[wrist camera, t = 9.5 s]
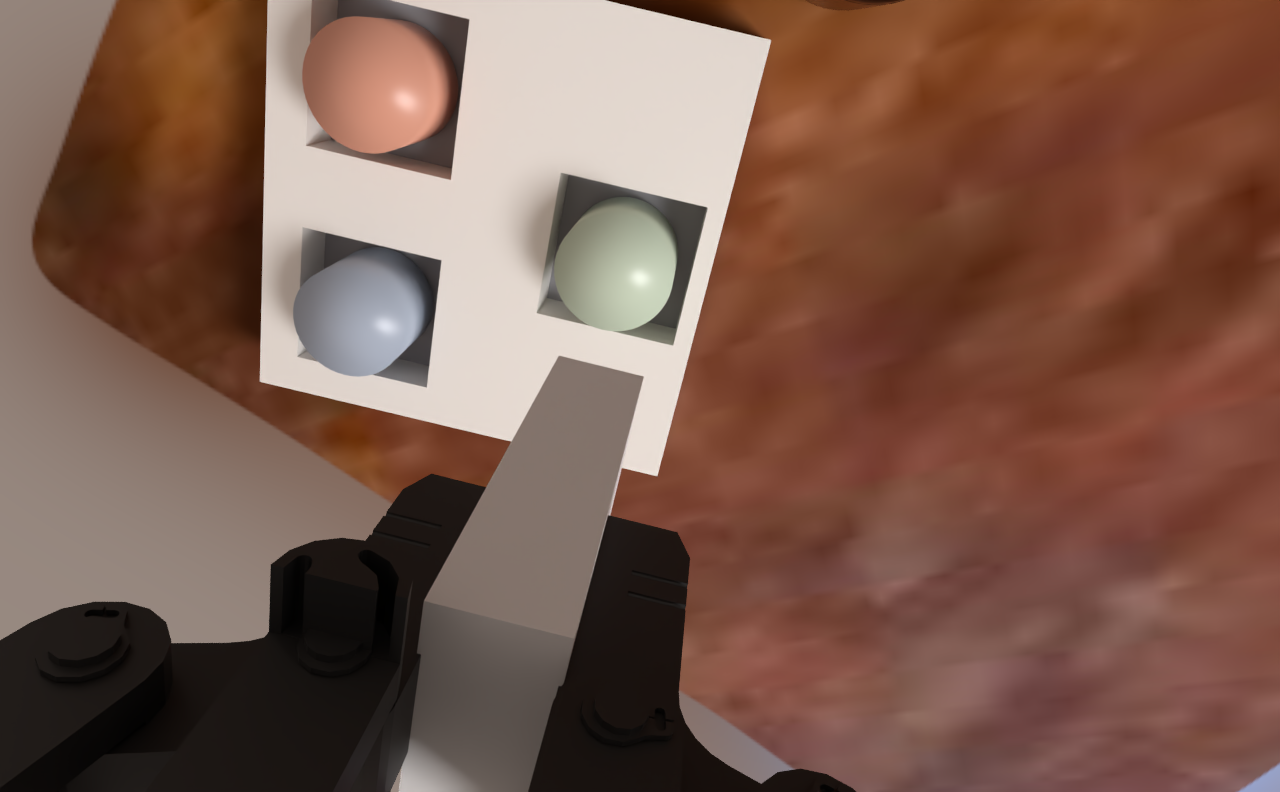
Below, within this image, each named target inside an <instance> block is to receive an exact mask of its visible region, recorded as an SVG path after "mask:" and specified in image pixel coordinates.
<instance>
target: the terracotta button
mask: <svg viewBox="0 0 1280 792" xmlns="http://www.w3.org/2000/svg"><path fill="white" fill-rule="evenodd" d="M302 82H303V89H304V93H305V97H306V100H307V103H308V106H309V108H310V110H311V112H312V114H313V116H314V117H315V119H316V120H317V122H318V123H319V125H320V126H321V127H322V128H323V129H324V131H325V132H326V133H328V134H329V135H330V136H331V137H332V138H333V139H334V140H336V141H337V142H339V143H340V144H342V145H344V146H345V147H348V148H350V149H352V150H355V151H358V152H363V153H372V154H377V153H385V152H389V151H392V150H395V149H398V148H402V147H405V146H408V145H411V144H414V143H417V142H420V141H424V140H426V139H429V138H431V137H433V136H434V135H436V134H437V133H438V132H440V131H441V130H442V129H443V128H444V127H445V126H446V124H447V123H448V122H449V120H450V119H451V117H452V115H453V112H454V110H455V107H456V103H457V98H458V80H457V74H456V70H455V67H454V64H453V62H452V59H451V57H450V55H449V53H448V52H447V50H446V48H445V47H444V46H443V44H442V43H441V42H440V41H439V40H438V39H437V38H436V37H435V36H434V35H433V34H432V33H431V32H429V31H428V30H426V29H425V28H423V27H422V26H419V25H417V24H415V23H412V22H409V21H404V20H397V19H385V18H373V17H359V16H352V17H344V18H341V19H338V20H335V21H333V22H331V23H329V24H328V25H326V26H325V27H323V28H322V29H321V30H320V31H319V32H318V33H317V34H316V35H315V37H314V38H313V39H312V41H311V43H310V45H309V46H308V49H307V51H306V54H305V57H304V62H303V69H302Z"/></svg>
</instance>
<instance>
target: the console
mask: <svg viewBox="0 0 1280 792" xmlns="http://www.w3.org/2000/svg"><path fill="white" fill-rule="evenodd" d="M352 16H359V17H373V18H385V19H397V20H404V21H409V22H412V23H415V24H417V25H419V26H422V27H423V28H425V29H426V30H428V31H429V32H431V33H432V34H433V35H434V36H435V37H436V38H437V39H438V40H439V41H440V42H441V43H442V44H443V46H444V47H445V48H446V50H447V52H448V53H449V55H450V57H451V59H452V62H453V64H454V67H455V70H456V74H457V80H458V98H457V103H456V107H455V110H454V112H453V115H452V117H451V119H450V120H449V122H448V123H447V124H446V126H445V127H444V128H443V129H442V130H441V131H440V132H438V133H437V134H436V135H434V136H433V137H431V138H429V139H426V140H424V141H420V142H417V143H414V144H411V145H408V146H405V147H402V148H398V149H395V150H392V151H389V152H385V153H377V154H372V153H363V152H358V151H355V150H352V149H350V148H348V147H345V146H344V145H342V144H340V143H339V142H337V141H336V140H334V139H333V138H332V137H331V136H330V135H329V134H328V133H326V132H325V131H324V129H323V128H322V127H321V126H320V125H319V123H318V122H317V120H316V119H315V117H314V116H313V114H312V112H311V110H310V108H309V106H308V103H307V100H306V97H305V93H304V89H303V82H302V69H303V62H304V57H305V54H306V51H307V49H308V46H309V45H310V43H311V41H312V39H313V38H314V37H315V35H316V34H317V33H318V32H319V31H320V30H321V29H322V28H323V27H325V26H326V25H328V24H329V23H331V22H333V21H335V20H338V19H341V18H344V17H352ZM770 43H771V40H769V39H765V38H760V37H756V36H752V35H748V34H744V33H740V32H735V31H731V30H727V29H723V28H719V27H715V26H710V25H706V24H702V23H698V22H694V21H690V20H685V19H681V18H677V17H673V16H669V15H665V14H660V13H656V12H652V11H648V10H644V9H639V8H635V7H631V6H627V5H623V4H619V3H614V2H610V1H606V0H268V13H267V61H266V110H265V158H264V207H263V256H262V304H261V353H260V382H263V383H268V384H272V385H276V386H280V387H285V388H289V389H293V390H297V391H301V392H306V393H310V394H314V395H318V396H322V397H327V398H331V399H335V400H339V401H343V402H348V403H352V404H356V405H360V406H364V407H369V408H373V409H377V410H381V411H385V412H390V413H394V414H398V415H402V416H406V417H411V418H415V419H419V420H423V421H427V422H432V423H436V424H440V425H444V426H448V427H453V428H457V429H461V430H465V431H469V432H474V433H478V434H482V435H486V436H490V437H495V438H499V439H503V440H507V441H511V442H512V440H513V438H514V436H515V434H516V433H517V431H518V429H519V427H520V425H521V423H522V422H523V420H524V418H525V416H526V414H527V413H528V411H529V409H530V407H531V405H532V403H533V402H534V400H535V398H536V396H537V394H538V393H539V391H540V389H541V387H542V385H543V383H544V382H545V380H546V378H547V376H548V374H549V373H550V371H551V369H552V367H553V365H554V363H555V362H556V360H557V358H558V356H563V357H567V358H571V359H575V360H579V361H583V362H587V363H591V364H595V365H599V366H603V367H608V368H612V369H616V370H620V371H624V372H628V373H632V374H636V375H640V376H644V378H643V383H642V387H641V391H640V395H639V399H638V403H637V407H636V411H635V415H634V419H633V423H632V428H631V432H630V436H629V440H628V444H627V448H626V452H625V456H624V460H623V464H622V468H625V469H629V470H633V471H638V472H642V473H646V474H650V475H654V476H657V475H658V471H659V468H660V464H661V460H662V456H663V452H664V448H665V445H666V441H667V437H668V433H669V429H670V426H671V422H672V418H673V414H674V410H675V406H676V403H677V399H678V395H679V391H680V387H681V383H682V380H683V376H684V372H685V368H686V364H687V361H688V357H689V353H690V349H691V345H692V341H693V338H694V334H695V330H696V326H697V322H698V318H699V315H700V311H701V307H702V303H703V299H704V296H705V292H706V288H707V284H708V280H709V276H710V273H711V269H712V265H713V261H714V257H715V253H716V250H717V246H718V242H719V238H720V234H721V231H722V227H723V223H724V219H725V215H726V211H727V208H728V204H729V200H730V196H731V192H732V188H733V185H734V181H735V177H736V173H737V169H738V166H739V162H740V158H741V154H742V150H743V146H744V143H745V139H746V135H747V131H748V127H749V124H750V120H751V116H752V112H753V108H754V104H755V101H756V97H757V93H758V89H759V85H760V81H761V78H762V74H763V70H764V66H765V62H766V59H767V55H768V51H769V47H770ZM614 197H631V198H636V199H639V200H643V201H645V202H647V203H649V204H651V205H652V206H654V207H655V208H657V209H658V210H659V211H660V212H661V213H662V214H663V215H664V216H665V217H666V218H667V220H668V221H669V223H670V224H671V226H672V228H673V230H674V233H675V235H676V239H677V243H678V260H677V265H676V270H675V275H674V280H673V285H672V289H671V293H670V296H669V298H668V300H667V302H666V304H665V305H664V307H663V308H662V310H661V311H660V312H659V313H658V314H657V315H656V316H655V317H654V318H653V319H651V320H650V321H648V322H647V323H645V324H643V325H641V326H639V327H637V328H634V329H630V330H626V331H607V330H601V329H598V328H595V327H592V326H590V325H588V324H586V323H584V322H583V321H581V320H580V319H579V318H577V317H576V316H575V315H574V314H573V313H572V312H571V311H570V310H569V309H568V308H567V306H566V305H565V304H564V302H563V300H562V299H561V297H560V295H559V292H558V290H557V286H556V283H555V277H554V265H555V258H556V254H557V251H558V249H559V246H560V244H561V243H562V241H563V239H564V238H565V236H566V235H567V234H568V233H569V231H570V230H571V229H572V228H573V226H574V225H575V224H576V223H577V222H578V220H579V219H580V218H581V217H582V215H583V214H584V213H585V212H586V211H587V210H588V209H590V208H591V207H592V206H594V205H595V204H597V203H599V202H601V201H603V200H606V199H610V198H614ZM370 247H381V248H387V249H390V250H394V251H396V252H398V253H401V254H402V255H404V256H406V257H407V258H409V259H410V260H411V261H412V262H414V263H415V264H416V265H417V266H418V267H419V269H420V270H421V271H422V272H423V274H424V275H425V277H426V279H427V281H428V283H429V285H430V288H431V291H432V295H433V314H432V318H431V321H430V323H429V325H428V327H427V328H426V330H425V331H424V332H423V333H422V334H421V335H420V336H419V337H418V338H417V339H416V340H415V341H414V342H413V343H412V344H411V345H410V346H409V347H408V348H407V349H406V350H405V351H404V352H403V353H402V354H401V355H400V356H399V357H398V358H397V359H396V360H394V361H393V362H392V363H391V364H390V365H389V366H388V367H387V368H385V369H384V370H382V371H380V372H378V373H376V374H373V375H368V376H360V377H357V376H348V375H343V374H340V373H337V372H335V371H332V370H330V369H328V368H327V367H325V366H323V365H322V364H321V363H319V362H318V361H317V360H316V359H314V358H313V357H312V356H311V355H310V353H309V352H308V351H307V350H306V348H305V347H304V346H303V344H302V342H301V341H300V339H299V337H298V334H297V332H296V329H295V325H294V319H293V307H294V302H295V298H296V295H297V293H298V291H299V289H300V288H301V286H302V285H303V284H304V283H305V282H306V281H307V280H308V279H309V278H310V277H312V276H313V275H315V274H317V273H318V272H320V271H322V270H324V269H325V268H327V267H329V266H331V265H333V264H334V263H336V262H338V261H340V260H341V259H343V258H345V257H347V256H349V255H350V254H352V253H354V252H356V251H358V250H361V249H365V248H370Z"/></svg>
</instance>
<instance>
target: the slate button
mask: <svg viewBox="0 0 1280 792" xmlns="http://www.w3.org/2000/svg"><path fill="white" fill-rule="evenodd" d="M432 314H433V295H432V291H431V288H430V285H429V283H428V281H427V279H426V277H425V275H424V274H423V272H422V271H421V270H420V269H419V267H418V266H417V265H416V264H415V263H414V262H412V261H411V260H410V259H409V258H407V257H406V256H404V255H402V254H401V253H398V252H396V251H394V250H390V249H387V248H381V247H370V248H365V249H361V250H358V251H356V252H354V253H352V254H350V255H349V256H347V257H345V258H343V259H341V260H340V261H338V262H336V263H334V264H333V265H331V266H329V267H327V268H325V269H324V270H322V271H320V272H318V273H317V274H315V275H313V276H312V277H310V278H309V279H308V280H307V281H306V282H305V283H304V284H303V285H302V286H301V288H300V289H299V291H298V293H297V295H296V298H295V302H294V307H293V319H294V325H295V329H296V332H297V334H298V337H299V339H300V341H301V342H302V344H303V346H304V347H305V348H306V350H307V351H308V352H309V353H310V355H311V356H312V357H313V358H314V359H316V360H317V361H318V362H319V363H321V364H322V365H323V366H325V367H327V368H328V369H330V370H332V371H335V372H337V373H340V374H343V375H348V376H357V377H360V376H368V375H373V374H376V373H378V372H380V371H382V370H384V369H385V368H387V367H388V366H389V365H390V364H391V363H392V362H393V361H394V360H396V359H397V358H398V357H399V356H400V355H401V354H402V353H403V352H404V351H405V350H406V349H407V348H408V347H409V346H410V345H411V344H412V343H413V342H414V341H415V340H416V339H417V338H418V337H419V336H420V335H421V334H422V333H423V332H424V331H425V330H426V328H427V327H428V325H429V323H430V321H431V318H432Z"/></svg>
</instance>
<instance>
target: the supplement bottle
mask: <svg viewBox="0 0 1280 792" xmlns="http://www.w3.org/2000/svg"><path fill="white" fill-rule="evenodd" d="M806 1H807V2H809V3H812V4H814V5H816V6H819V7H822V8H826V9H831V10H855V9H862V8H868V7H874V6H880V5H886V4H892V3H896V2H900V1H904V0H806Z"/></svg>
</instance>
